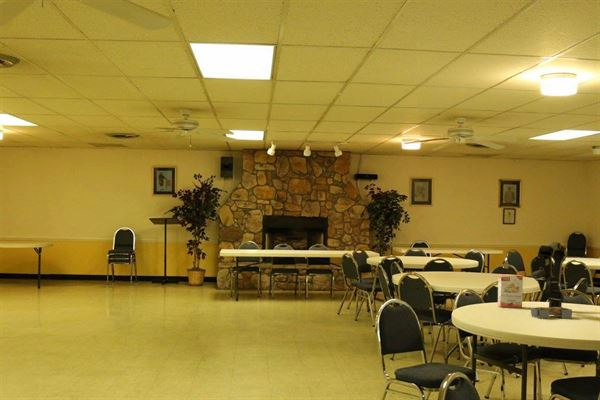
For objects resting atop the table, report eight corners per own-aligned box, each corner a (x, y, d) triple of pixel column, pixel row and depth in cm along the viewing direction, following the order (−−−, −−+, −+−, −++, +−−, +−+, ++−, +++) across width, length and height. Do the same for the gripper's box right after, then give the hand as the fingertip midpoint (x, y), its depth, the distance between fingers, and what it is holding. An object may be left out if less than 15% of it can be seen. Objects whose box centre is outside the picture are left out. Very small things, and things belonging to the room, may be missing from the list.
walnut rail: (562, 314, 327) (562, 307, 327) (565, 315, 323) (565, 308, 324) (536, 314, 325) (536, 307, 325) (540, 315, 321) (540, 308, 321)
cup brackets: (564, 316, 329) (564, 307, 330) (573, 318, 322) (573, 309, 322) (530, 316, 326) (530, 307, 326) (537, 318, 318) (537, 309, 319)
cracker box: (500, 307, 356) (501, 274, 357) (497, 306, 362) (497, 273, 363) (522, 308, 355) (523, 275, 356) (519, 306, 362) (519, 274, 362)
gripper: (525, 264, 345) (525, 290, 345) (542, 267, 327) (542, 294, 326) (542, 265, 347) (542, 290, 346) (560, 267, 328) (560, 294, 328)
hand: (546, 292), depth 337 cm, fingers open, 9 cm apart
